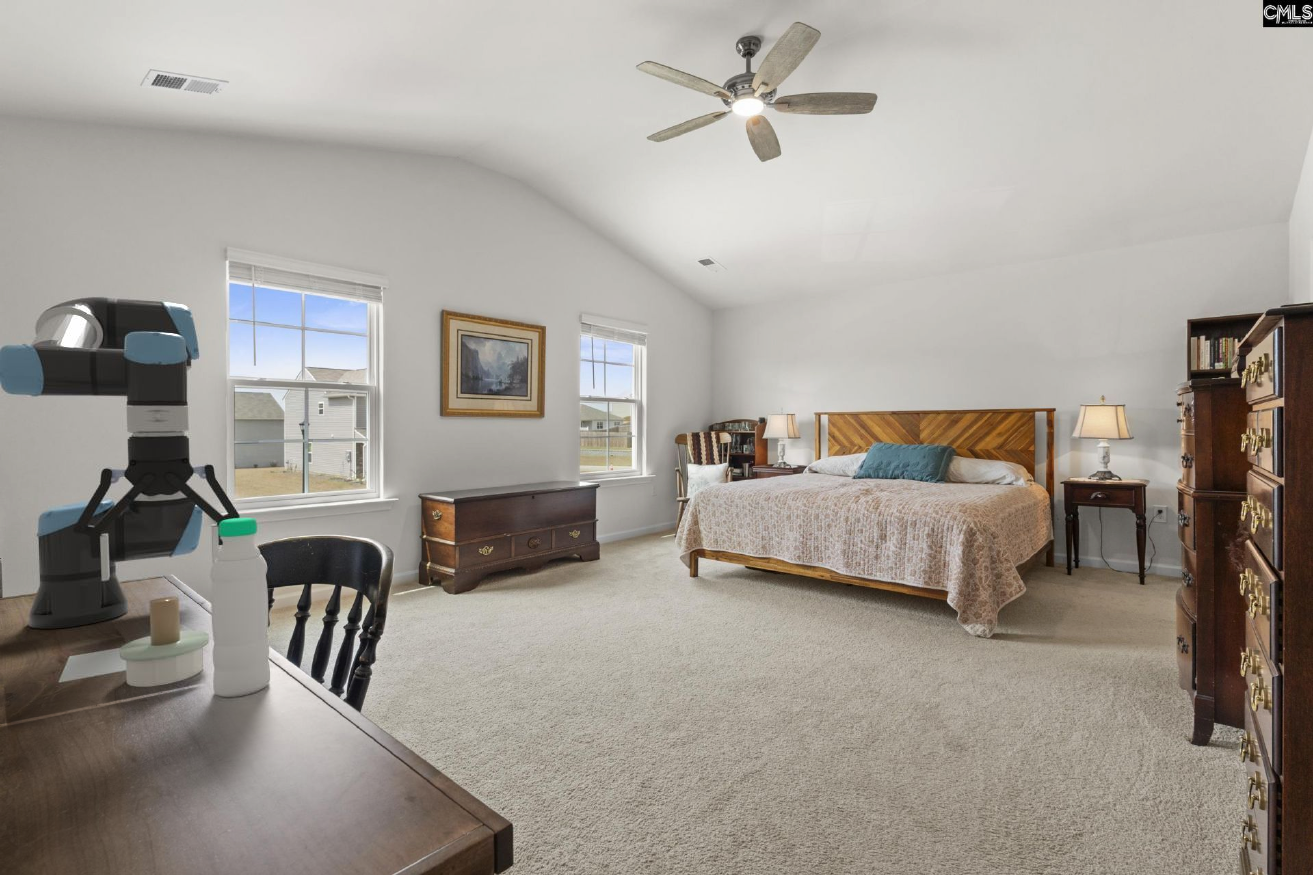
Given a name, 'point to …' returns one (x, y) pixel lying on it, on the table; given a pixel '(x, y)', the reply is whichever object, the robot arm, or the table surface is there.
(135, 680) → the bowl
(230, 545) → the water bottle
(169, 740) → the table surface
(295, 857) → the table surface
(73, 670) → the mat
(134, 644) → the lid
